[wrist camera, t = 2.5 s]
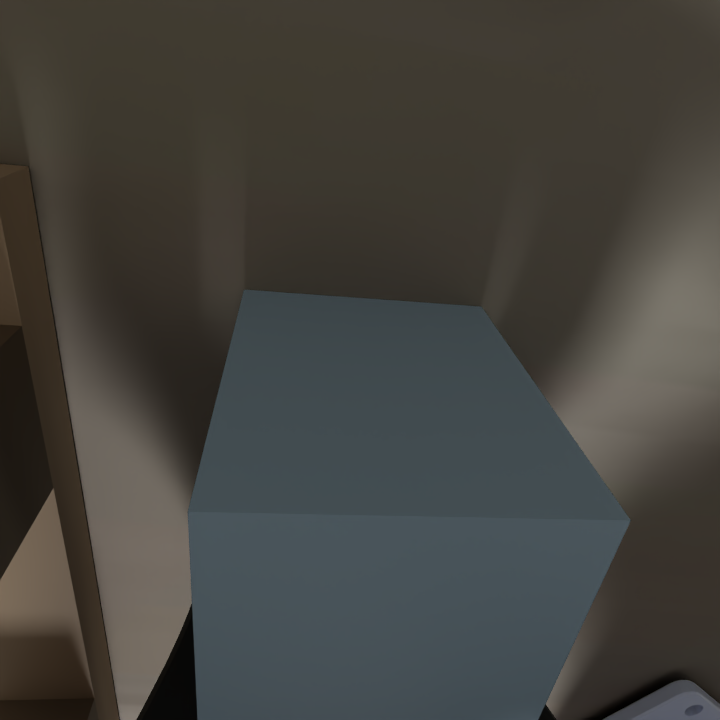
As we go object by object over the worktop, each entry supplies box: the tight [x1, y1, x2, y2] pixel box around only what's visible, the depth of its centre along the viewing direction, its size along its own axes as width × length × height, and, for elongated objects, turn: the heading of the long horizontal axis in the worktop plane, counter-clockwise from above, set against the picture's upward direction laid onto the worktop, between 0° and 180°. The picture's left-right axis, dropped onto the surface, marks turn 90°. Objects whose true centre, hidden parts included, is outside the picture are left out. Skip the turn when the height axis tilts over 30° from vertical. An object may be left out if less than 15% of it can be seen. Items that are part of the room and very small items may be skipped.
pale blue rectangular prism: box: [188, 290, 631, 720], centre depth 10 cm, size 4×14×5 cm, turn 174°
